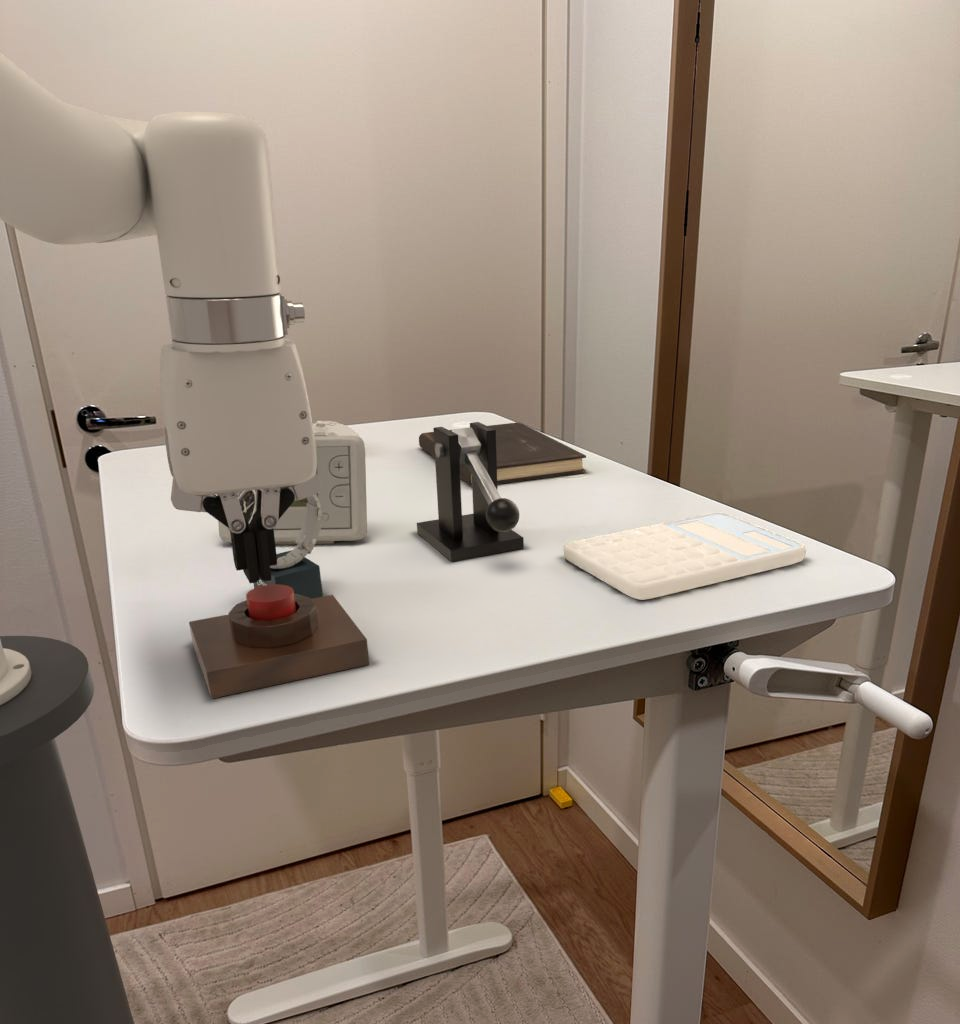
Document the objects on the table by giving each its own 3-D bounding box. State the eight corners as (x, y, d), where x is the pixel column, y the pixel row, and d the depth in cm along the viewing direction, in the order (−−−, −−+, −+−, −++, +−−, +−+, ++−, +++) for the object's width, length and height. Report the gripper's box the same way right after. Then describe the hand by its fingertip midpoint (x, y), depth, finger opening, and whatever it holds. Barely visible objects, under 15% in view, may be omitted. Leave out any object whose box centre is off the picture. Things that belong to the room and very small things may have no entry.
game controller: (265, 448, 123) (247, 419, 130) (268, 477, 126) (250, 448, 133) (365, 434, 128) (343, 408, 136) (366, 462, 131) (344, 435, 138)
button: (254, 626, 68) (250, 605, 68) (245, 609, 71) (242, 589, 71) (300, 617, 70) (298, 596, 69) (290, 601, 73) (287, 581, 72)
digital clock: (212, 546, 97) (195, 447, 92) (251, 520, 104) (237, 428, 100) (353, 554, 93) (343, 451, 88) (383, 526, 100) (375, 431, 96)
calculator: (558, 558, 89) (558, 540, 89) (719, 524, 97) (720, 507, 96) (637, 604, 79) (637, 584, 78) (810, 561, 86) (813, 542, 85)
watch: (234, 597, 83) (215, 480, 79) (313, 576, 87) (300, 464, 83) (259, 616, 79) (240, 494, 74) (340, 593, 83) (328, 476, 79)
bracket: (523, 548, 93) (522, 433, 87) (451, 561, 90) (445, 443, 85) (484, 521, 101) (481, 415, 96) (417, 533, 98) (409, 424, 93)
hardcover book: (520, 437, 138) (519, 422, 137) (585, 472, 118) (586, 455, 117) (419, 449, 133) (418, 433, 132) (470, 488, 113) (469, 469, 112)
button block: (211, 699, 66) (202, 649, 64) (193, 645, 74) (184, 601, 72) (369, 664, 70) (364, 617, 68) (335, 617, 78) (330, 574, 77)
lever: (521, 536, 87) (527, 512, 84) (490, 541, 86) (496, 517, 83) (472, 447, 94) (476, 423, 91) (443, 451, 92) (447, 426, 90)
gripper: (322, 313, 67) (339, 547, 75) (107, 323, 62) (150, 574, 70) (350, 323, 61) (365, 578, 69) (114, 335, 55) (160, 609, 63)
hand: (257, 575), depth 69 cm, fingers closed
